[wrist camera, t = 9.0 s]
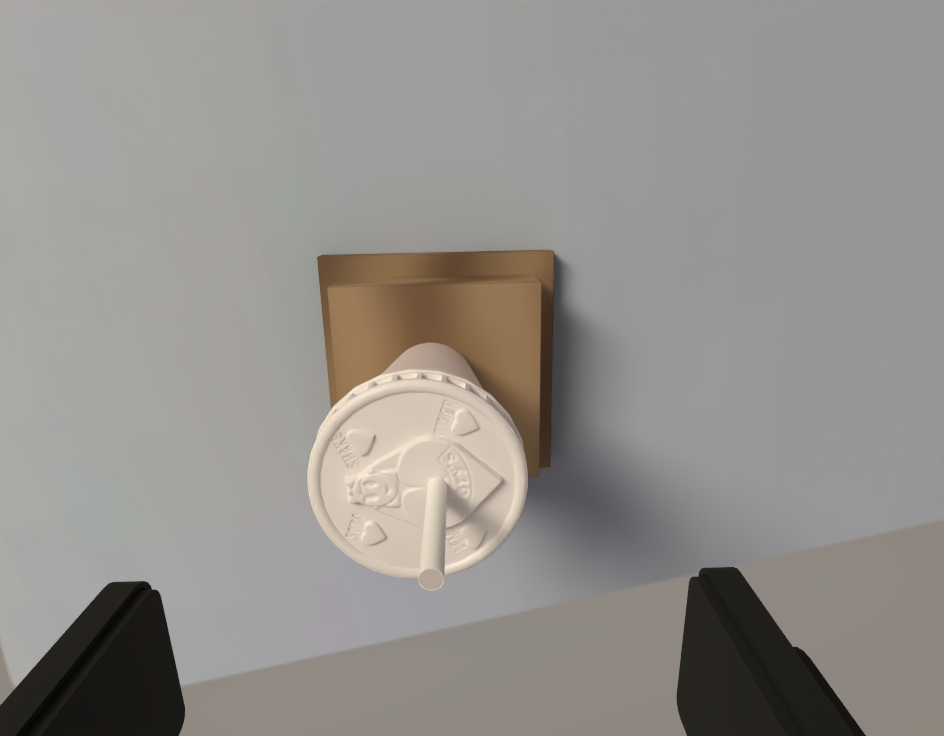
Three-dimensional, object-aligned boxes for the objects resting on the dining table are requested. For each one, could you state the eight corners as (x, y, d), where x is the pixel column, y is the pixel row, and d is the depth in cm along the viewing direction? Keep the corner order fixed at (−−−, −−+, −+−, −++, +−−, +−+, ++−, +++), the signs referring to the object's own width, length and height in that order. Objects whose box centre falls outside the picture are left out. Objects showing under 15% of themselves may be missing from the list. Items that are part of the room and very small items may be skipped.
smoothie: (507, 444, 27) (559, 690, 13) (367, 455, 27) (278, 711, 13) (499, 306, 25) (550, 431, 12) (349, 317, 25) (226, 454, 12)
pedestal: (550, 249, 28) (565, 258, 25) (547, 458, 32) (559, 495, 28) (321, 255, 28) (300, 264, 24) (340, 464, 31) (324, 502, 28)
